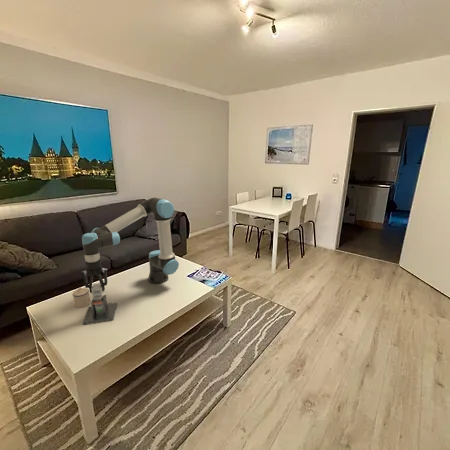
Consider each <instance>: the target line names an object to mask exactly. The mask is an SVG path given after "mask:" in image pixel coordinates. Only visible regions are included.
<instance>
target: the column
mask: <svg viewBox="0 0 450 450" xmlns="http://www.w3.org/2000/svg"><path fill="white" fill-rule="evenodd" d="M92 286H93V287H92V290H93V296H94V302H101V301H103V297H102V296H101V289H100V287H101V284H100V282H99V283H92ZM95 309H96V314H103V313H104V311H103V305H102V304H95Z"/></svg>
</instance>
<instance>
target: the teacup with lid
mask: <svg viewBox="0 0 450 450" xmlns="http://www.w3.org/2000/svg"><path fill="white" fill-rule="evenodd" d="M72 297H73V302H74V308H78V309H80V308H81V309H82V308H85V307H88V306H89V304H90V305H91V299H90V298H91V297H90V290H89V288H85V287H79V288H78V289H75V290H74V291H73V292H72Z"/></svg>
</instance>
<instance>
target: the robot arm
mask: <svg viewBox="0 0 450 450" xmlns="http://www.w3.org/2000/svg"><path fill="white" fill-rule="evenodd" d="M174 213H175V207H174V205H173V203H172V202H171V201H169V200H167V199H165V198H164V199H163V198H159V197H151V198H149V199H145V200H144V201H143V202H141V203H139V204H137V206H136V207H135V208H133V209H131V210H129V211H128V212H125V213H124V214H122V215H120V216H119V217H117V218H115V219H114V220H112V221H110V222H108V223H107V224H105V225H103V226H101V227H95V228H93V229H92V230H91V232H87V233H84V234H83V235H81V242H82V243H81V244H82V248H83V253H84V255H83V256H84V261H85V267H86V268H85V270H82V271H81V276H82V279H83V283H84V284H83V285H84V288H87V289H88V290H89V294H91V296H92V299H93V298H94V296H93V290H92V287H93V282H94V281H93V280H94V276H96V277H97V279H98V281H99V283H100V284H101V287H100V289H101V296H102V297H103V296H104V295H105V294H104V292H105V289H106V288H105V287H106V286H107V285H108V274H107V273H108V272H107V271H108V268H104V267H103V266H102V263H101V262H102V261H101V256H100V255H101V254H100V249H104V248H107V247H112V246H116V245H118V244H120V242H121V237H120V234H119V233H118V232H120V231H121V230H123V229H124V228H125V229H126V228H127V227H128V226H129V225H131V224H133V223H135V222H136V221H138V220H140V219H141V218H143V217H148V216H150V215H153V220H154V222H156V226H157V237H158V246H159V247H158V248H159V249H157V250H152V251H150V252H149V254H148V261H149V263H148V264H149V274H148V277H147V280H148V282H149V283H150V284H152V285H153V284H154V285H159V284H163V282H164V283H165V281H166V282H167V281H168V280H169V276H170V275H173V274H175V273H176V272H177V270H178V269H179V267H180V263H179V260H177V259H176V254H175V253H174V252H173V244H172V243H173V242H172V232H171V220H172V216H173V214H174ZM101 272H102V273H103V277H102V275H101ZM87 274H88V275H89V281H88V276H87Z"/></svg>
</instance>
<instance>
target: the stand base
mask: <svg viewBox="0 0 450 450" xmlns="http://www.w3.org/2000/svg"><path fill="white" fill-rule="evenodd" d="M91 299H92V300H91V301H90V306H88V308H87V311H86V313H85V316H84V318H83V321H82V325H83V326H85V325H92V324H96V323H97V324H98V323H105V322H109V321H114V319H115V314H116V309H117V306H118V304H117V302H113V303H108V299H107V295H106V294H104V296H103V301H101V302H94V298H93V297H92V298H91ZM95 304H102V305H103V311H104V313H103V314H96V309H95Z"/></svg>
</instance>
